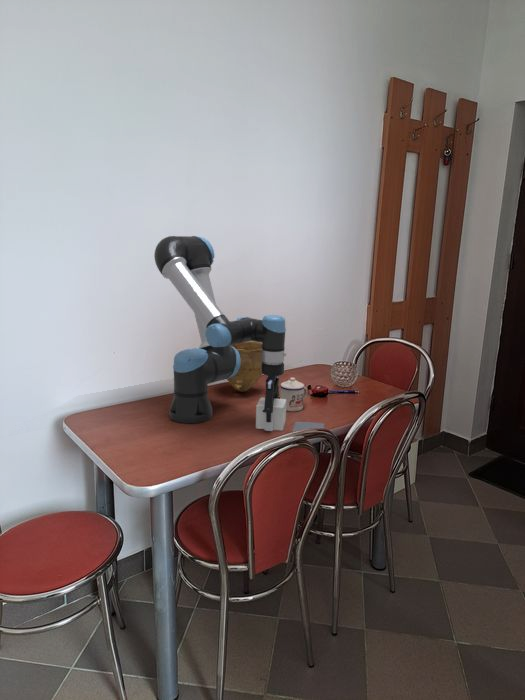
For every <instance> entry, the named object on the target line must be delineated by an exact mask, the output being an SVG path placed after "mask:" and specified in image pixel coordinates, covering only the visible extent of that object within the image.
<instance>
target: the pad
mask: <svg viewBox="0 0 525 700" xmlns="http://www.w3.org/2000/svg"><path fill="white" fill-rule="evenodd" d="M310 428H324V429H325V423H321V422H308V421H296V420H295V422H294V426H293V428H292V433H293V432H294V431H298V430H304V429H310Z"/></svg>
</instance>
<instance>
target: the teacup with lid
mask: <svg viewBox="0 0 525 700" xmlns="http://www.w3.org/2000/svg"><path fill="white" fill-rule="evenodd" d="M279 388H280V395H279V397H280V399H286V412H287V411H288V412H298V411H301V410H303V409H304V399H306V397H307V395H308V388H307V387H306V386H305V383H303V382H300V381H298V380H296V377H290V378H289V379H288V380H286V381H283V382H281V383H280V385H279Z"/></svg>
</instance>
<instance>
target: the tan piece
mask: <svg viewBox="0 0 525 700" xmlns="http://www.w3.org/2000/svg"><path fill="white" fill-rule="evenodd" d="M231 346H232V347H234V348H235V349H236V350H237V351H238V352H239V355H240V359H241V364H240V368H239V370H238V372H237V373H236V374H235V375H234V376H233V377H230V378H228V379H226V381H228V383H229V384H230V385H231V387H233V389H235V390H237V391H238V392H241V393H245V392H247V391H248V390H250V389H251V388H253V386H254V385H255V384H256V383H257V381H258V380H260V378H261V377H262V376H263V375H264V374H263V373H262V362H263V361H262V343H261V342H256V341H247V342H242V343H237V344H232V345H231Z"/></svg>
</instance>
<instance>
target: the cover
mask: <svg viewBox="0 0 525 700" xmlns="http://www.w3.org/2000/svg"><path fill="white" fill-rule="evenodd" d="M264 406H265V397H260V398H259V400H258V402H257V404H256V405H255V407H256V409H255V429H259V430H265V412H263V410H264ZM267 409H268V408H267ZM286 419H287V411H286V399H275V398H274V404H273V431H283V430H284V428H285V425H286V422H287V421H286Z"/></svg>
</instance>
